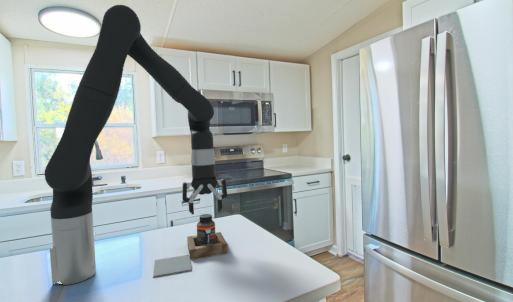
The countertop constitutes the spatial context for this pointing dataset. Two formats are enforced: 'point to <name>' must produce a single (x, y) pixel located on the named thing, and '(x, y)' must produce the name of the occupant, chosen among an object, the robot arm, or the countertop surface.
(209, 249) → the socket collar
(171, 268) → the mat
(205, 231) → the supplement bottle
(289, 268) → the countertop surface
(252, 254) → the countertop surface
